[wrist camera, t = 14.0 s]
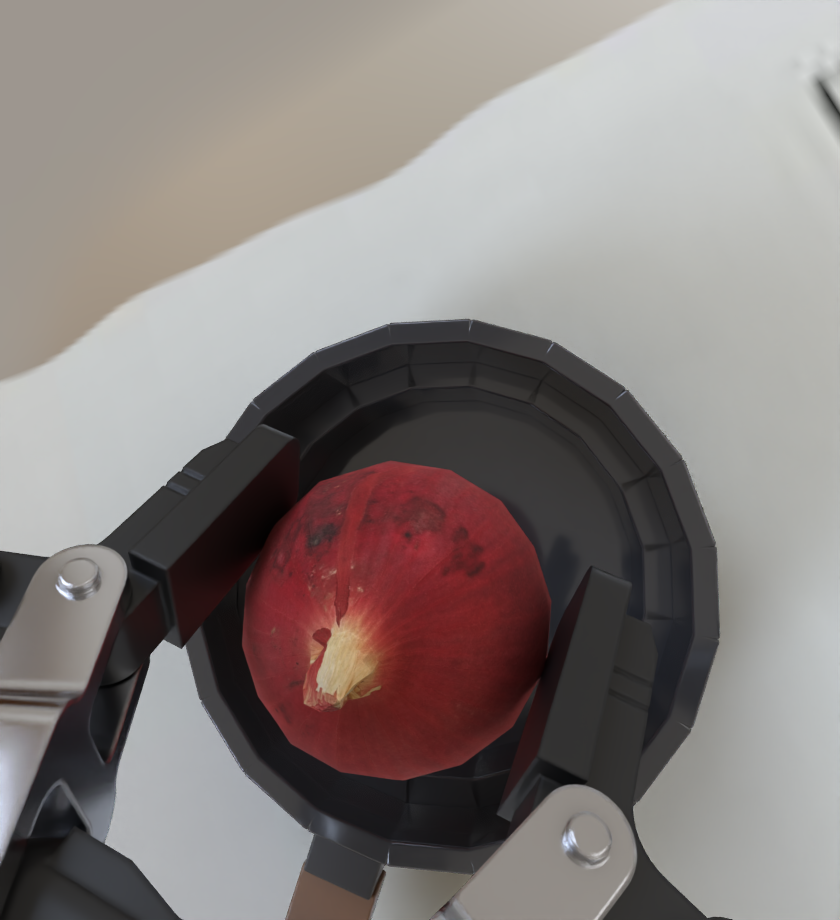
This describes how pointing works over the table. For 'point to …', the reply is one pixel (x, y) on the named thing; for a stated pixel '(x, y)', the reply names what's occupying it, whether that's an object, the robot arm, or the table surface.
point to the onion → (396, 621)
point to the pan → (536, 512)
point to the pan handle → (336, 884)
